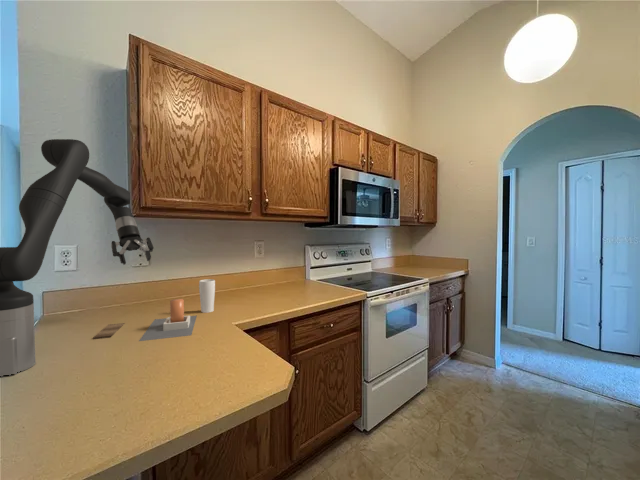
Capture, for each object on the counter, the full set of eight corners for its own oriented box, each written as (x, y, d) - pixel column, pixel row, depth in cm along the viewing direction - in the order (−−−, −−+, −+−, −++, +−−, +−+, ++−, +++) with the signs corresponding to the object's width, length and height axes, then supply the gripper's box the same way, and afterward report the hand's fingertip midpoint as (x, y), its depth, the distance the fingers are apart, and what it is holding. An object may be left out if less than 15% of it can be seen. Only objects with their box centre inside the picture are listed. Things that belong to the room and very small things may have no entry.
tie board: (191, 338, 98) (191, 328, 98) (138, 344, 93) (138, 333, 93) (196, 317, 121) (196, 309, 121) (154, 321, 116) (154, 313, 115)
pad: (140, 334, 102) (139, 332, 102) (93, 339, 97) (93, 337, 97) (149, 322, 115) (149, 320, 115) (108, 326, 110) (108, 324, 110)
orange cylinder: (183, 327, 106) (182, 301, 106) (169, 328, 105) (169, 302, 104) (184, 323, 110) (184, 298, 110) (171, 324, 109) (171, 299, 109)
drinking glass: (196, 313, 126) (195, 281, 126) (208, 310, 132) (208, 278, 132) (206, 316, 123) (206, 282, 123) (218, 312, 129) (218, 279, 129)
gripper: (107, 225, 113) (116, 260, 108) (147, 223, 123) (157, 254, 118) (106, 235, 117) (115, 269, 112) (145, 232, 127) (154, 263, 123)
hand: (137, 261), depth 115 cm, fingers open, 8 cm apart
